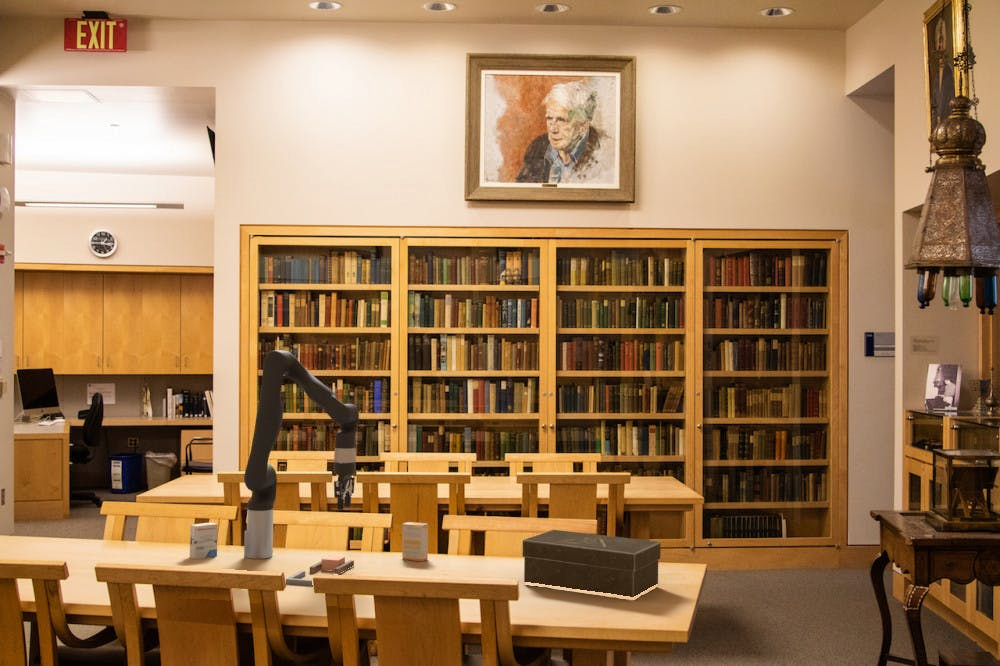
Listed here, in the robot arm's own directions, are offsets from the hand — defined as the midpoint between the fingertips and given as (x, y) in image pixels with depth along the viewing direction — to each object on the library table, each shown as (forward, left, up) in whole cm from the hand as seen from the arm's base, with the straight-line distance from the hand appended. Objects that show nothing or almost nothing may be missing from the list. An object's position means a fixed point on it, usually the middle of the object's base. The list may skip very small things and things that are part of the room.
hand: (344, 508), depth 358 cm
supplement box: (+22, +14, -20) cm, 33 cm away
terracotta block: (0, -9, -20) cm, 22 cm away
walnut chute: (0, -10, -19) cm, 22 cm away
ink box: (-52, -4, -20) cm, 56 cm away
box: (+89, -8, -20) cm, 92 cm away
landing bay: (0, -27, -20) cm, 33 cm away
